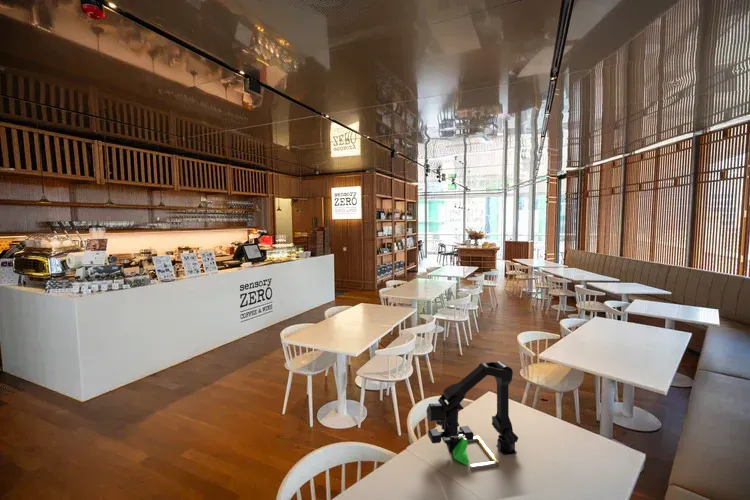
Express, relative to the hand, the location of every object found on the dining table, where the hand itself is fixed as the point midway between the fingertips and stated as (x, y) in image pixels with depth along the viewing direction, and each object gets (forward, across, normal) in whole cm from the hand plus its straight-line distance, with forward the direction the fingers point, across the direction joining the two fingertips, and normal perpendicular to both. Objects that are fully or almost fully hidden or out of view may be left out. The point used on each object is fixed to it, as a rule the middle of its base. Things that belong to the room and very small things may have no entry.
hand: (449, 453), depth 142 cm
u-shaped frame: (+2, -12, 0) cm, 12 cm away
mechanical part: (0, -4, 0) cm, 4 cm away
